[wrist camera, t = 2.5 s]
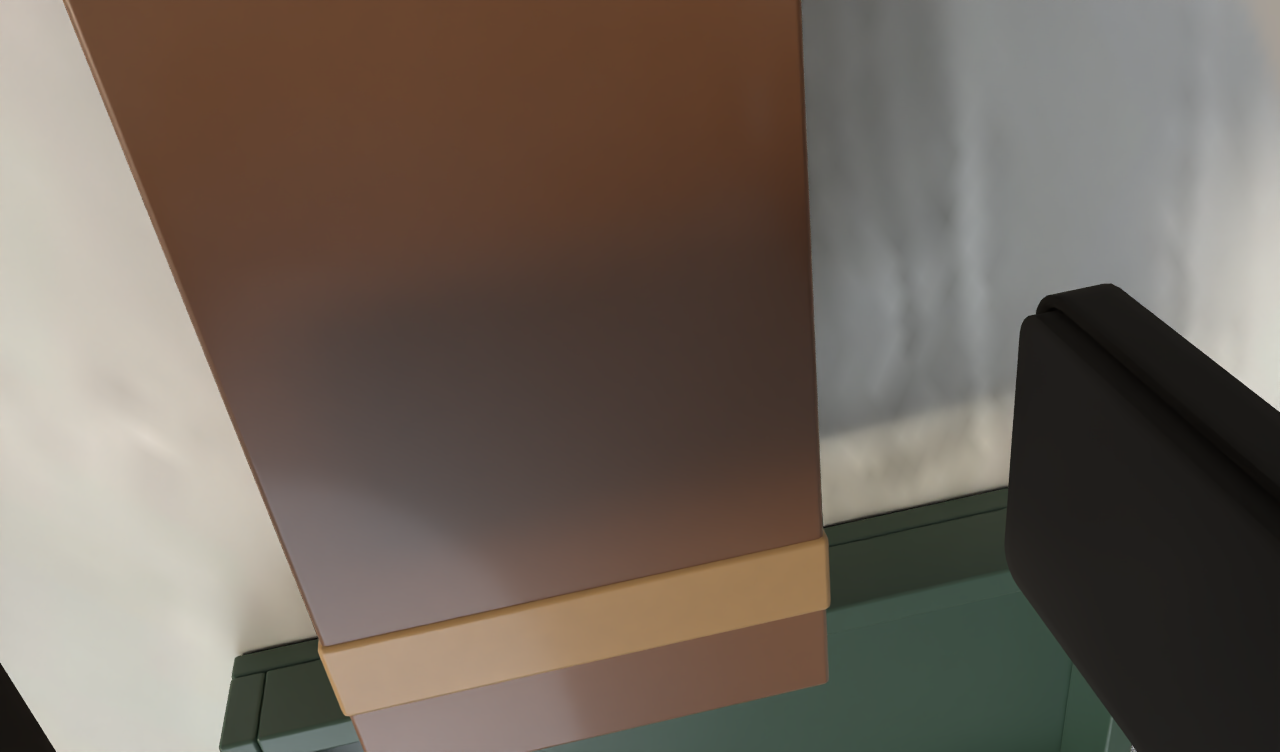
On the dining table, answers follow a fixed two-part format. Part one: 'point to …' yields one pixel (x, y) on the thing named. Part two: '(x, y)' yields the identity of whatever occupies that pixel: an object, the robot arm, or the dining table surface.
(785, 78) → the walnut box
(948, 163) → the dining table surface
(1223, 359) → the dining table surface
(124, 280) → the dining table surface
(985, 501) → the tray
